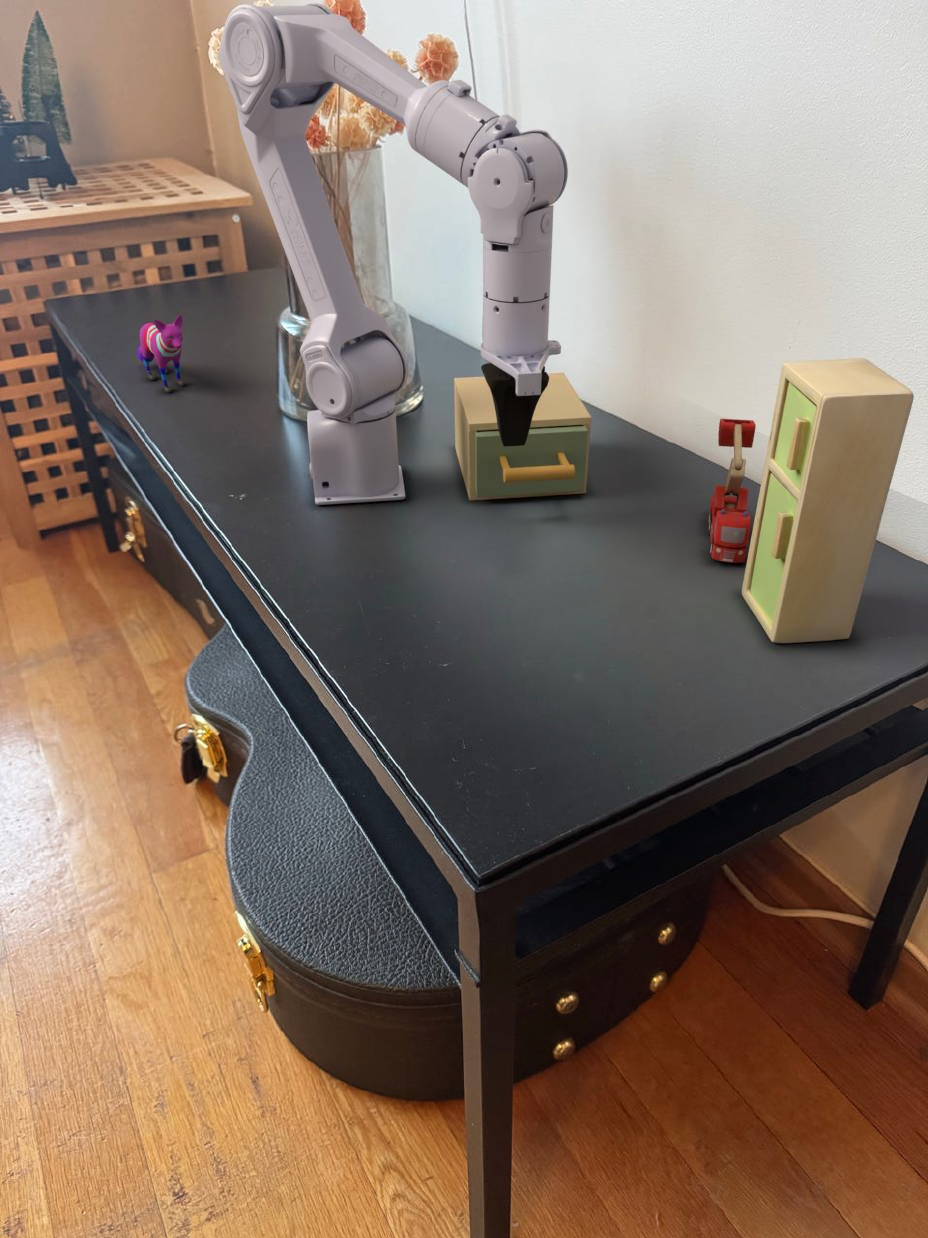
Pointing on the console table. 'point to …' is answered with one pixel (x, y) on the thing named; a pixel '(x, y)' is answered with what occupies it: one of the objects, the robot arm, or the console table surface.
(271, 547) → the console table surface
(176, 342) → the toy dog
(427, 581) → the console table surface
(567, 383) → the wooden drawer cabinet
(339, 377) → the robot arm
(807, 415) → the toy refrigerator
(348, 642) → the console table surface
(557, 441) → the cabinet drawer
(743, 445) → the toy fire truck
